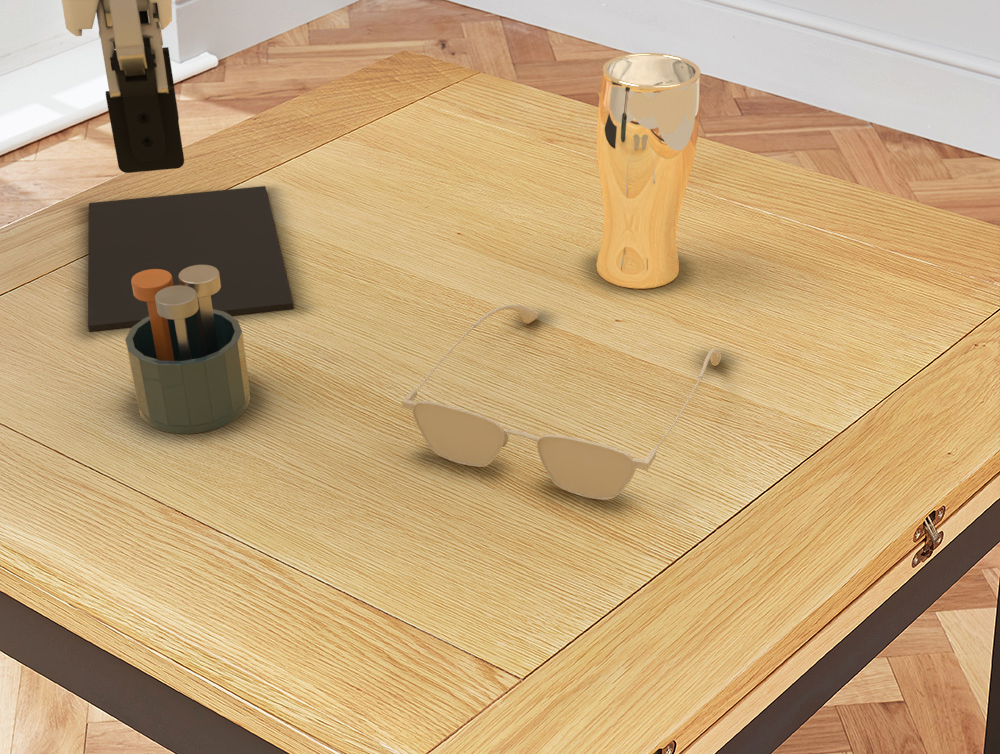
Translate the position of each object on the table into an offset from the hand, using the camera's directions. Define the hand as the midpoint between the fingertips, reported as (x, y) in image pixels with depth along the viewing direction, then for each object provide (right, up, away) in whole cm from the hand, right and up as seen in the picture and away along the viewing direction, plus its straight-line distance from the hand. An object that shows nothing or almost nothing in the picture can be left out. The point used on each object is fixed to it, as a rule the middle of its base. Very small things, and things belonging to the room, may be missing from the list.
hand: (150, 142), depth 70 cm
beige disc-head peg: (0, -11, +16) cm, 20 cm away
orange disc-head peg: (-3, -11, +16) cm, 20 cm away
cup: (-1, -12, +16) cm, 20 cm away
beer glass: (+28, -2, +30) cm, 41 cm away
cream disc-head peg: (-1, -13, +14) cm, 19 cm away
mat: (-6, 0, +32) cm, 32 cm away
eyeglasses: (+23, -13, +16) cm, 31 cm away
